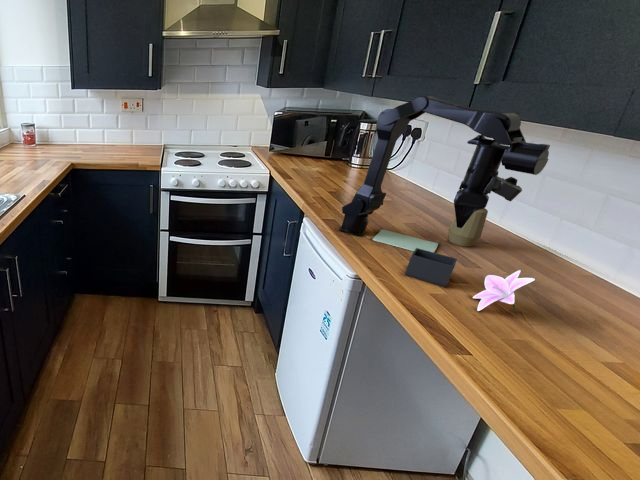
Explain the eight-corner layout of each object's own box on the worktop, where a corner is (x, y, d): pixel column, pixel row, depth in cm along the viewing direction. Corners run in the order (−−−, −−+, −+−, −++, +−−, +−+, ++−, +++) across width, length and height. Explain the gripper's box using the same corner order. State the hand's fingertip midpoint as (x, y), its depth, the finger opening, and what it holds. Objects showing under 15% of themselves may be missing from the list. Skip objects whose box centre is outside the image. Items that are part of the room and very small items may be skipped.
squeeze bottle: (465, 239, 131) (487, 186, 124) (482, 249, 124) (507, 194, 117) (439, 237, 132) (459, 184, 125) (455, 247, 125) (477, 192, 117)
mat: (372, 240, 128) (372, 238, 128) (381, 230, 136) (382, 229, 136) (432, 256, 118) (432, 255, 118) (438, 244, 126) (438, 243, 126)
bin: (404, 275, 107) (411, 255, 104) (409, 267, 111) (416, 247, 108) (445, 287, 101) (454, 266, 99) (448, 279, 105) (457, 258, 103)
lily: (482, 294, 101) (473, 262, 98) (548, 298, 91) (541, 263, 88) (467, 324, 95) (458, 291, 92) (537, 332, 85) (528, 295, 83)
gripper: (528, 178, 89) (499, 242, 95) (526, 165, 102) (500, 222, 108) (466, 168, 95) (442, 229, 102) (471, 157, 108) (450, 211, 115)
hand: (460, 223), depth 106 cm, fingers open, 9 cm apart
